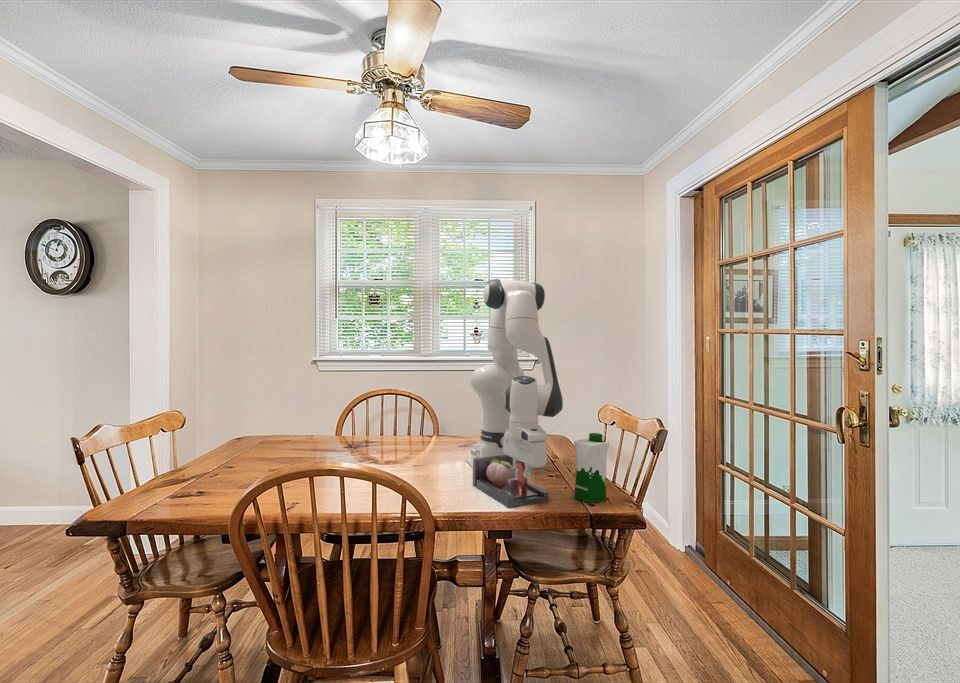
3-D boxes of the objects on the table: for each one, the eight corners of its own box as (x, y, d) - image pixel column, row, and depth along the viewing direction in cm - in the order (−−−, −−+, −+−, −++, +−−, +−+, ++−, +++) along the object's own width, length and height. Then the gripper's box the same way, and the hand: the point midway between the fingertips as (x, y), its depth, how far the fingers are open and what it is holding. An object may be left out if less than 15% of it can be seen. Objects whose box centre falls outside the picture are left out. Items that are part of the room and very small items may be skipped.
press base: (472, 485, 173) (473, 458, 173) (509, 480, 179) (510, 454, 179) (508, 507, 152) (508, 477, 151) (548, 501, 158) (549, 472, 158)
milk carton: (610, 500, 160) (612, 435, 159) (591, 506, 154) (592, 439, 154) (588, 493, 167) (589, 431, 166) (569, 498, 161) (570, 434, 161)
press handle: (500, 498, 160) (501, 460, 160) (527, 494, 164) (528, 457, 164) (510, 504, 154) (511, 464, 154) (538, 499, 159) (539, 461, 159)
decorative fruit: (519, 487, 171) (519, 457, 171) (507, 494, 164) (507, 462, 164) (494, 482, 176) (495, 453, 176) (481, 488, 169) (482, 458, 169)
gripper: (498, 425, 165) (497, 468, 166) (532, 437, 147) (531, 485, 147) (515, 423, 168) (514, 466, 169) (551, 435, 150) (550, 483, 150)
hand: (523, 475), depth 158 cm, fingers closed on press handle, 3 cm apart
